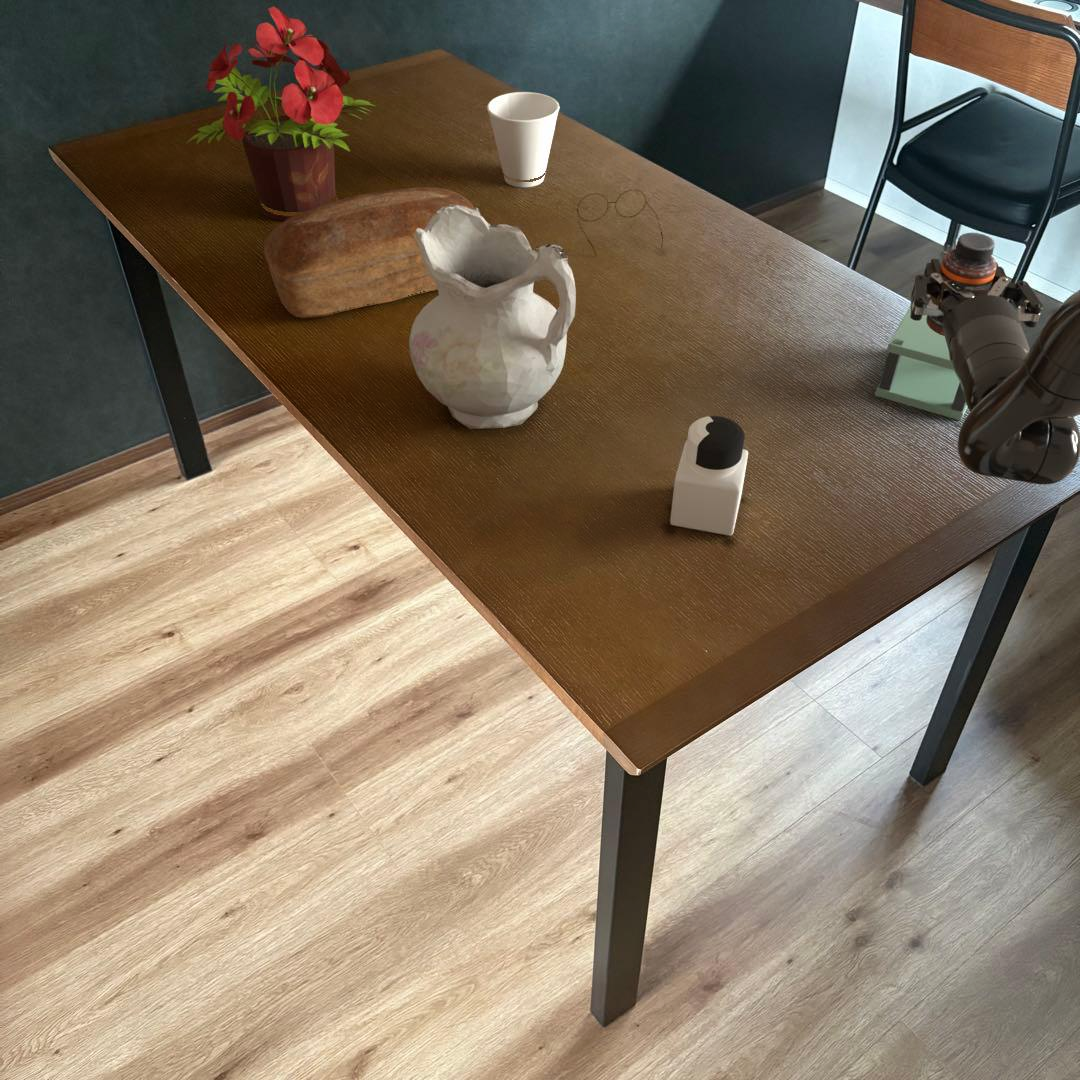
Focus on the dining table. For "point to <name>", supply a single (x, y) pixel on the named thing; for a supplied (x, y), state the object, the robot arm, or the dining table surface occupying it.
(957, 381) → the shelf rack
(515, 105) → the cup
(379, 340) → the dining table surface
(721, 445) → the medicine bottle
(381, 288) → the bread
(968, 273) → the supplement bottle
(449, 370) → the ceramic pitcher
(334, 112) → the potted plant
